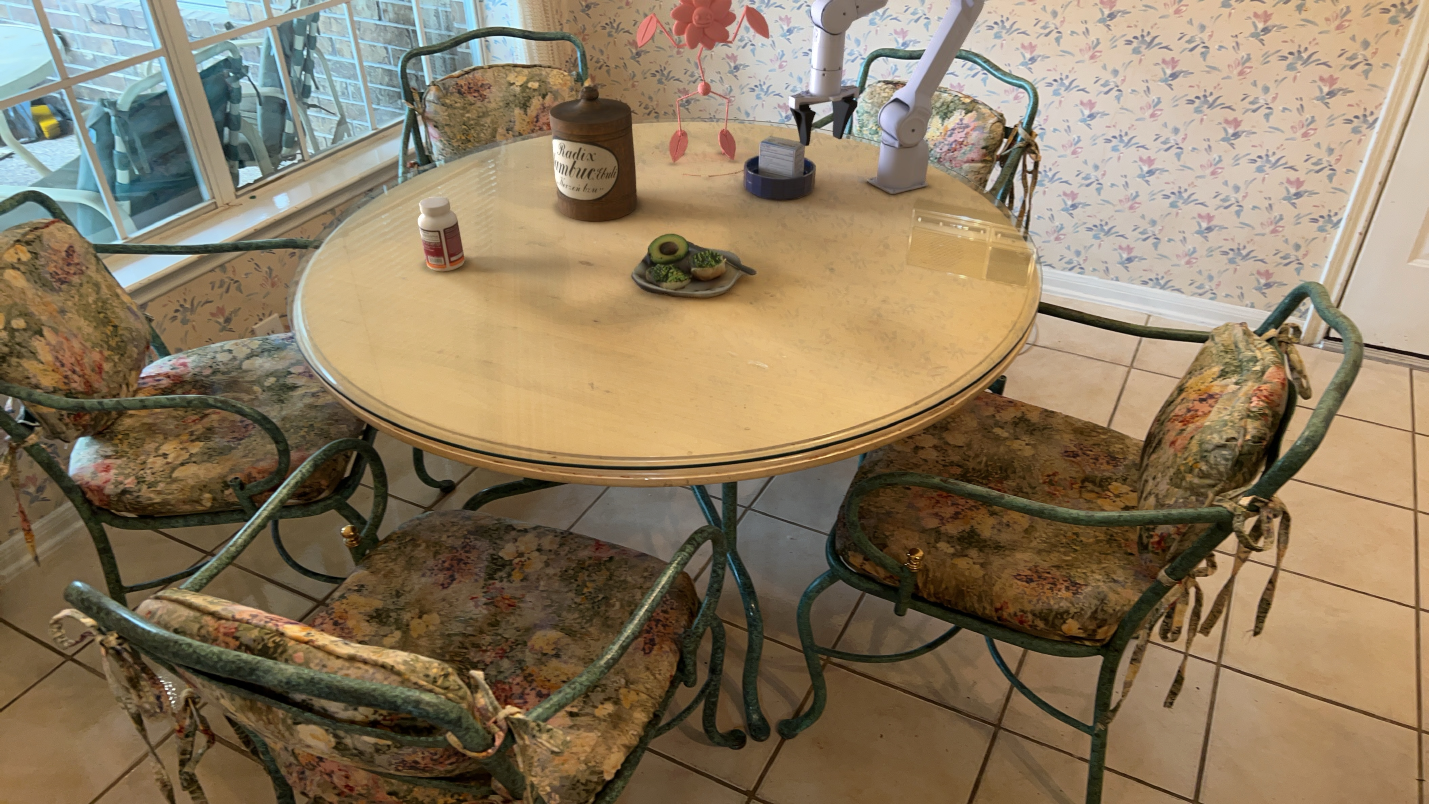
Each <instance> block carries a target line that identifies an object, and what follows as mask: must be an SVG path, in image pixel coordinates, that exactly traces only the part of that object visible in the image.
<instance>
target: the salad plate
mask: <svg viewBox="0 0 1429 804" xmlns="http://www.w3.org/2000/svg"><path fill="white" fill-rule="evenodd" d="M757 273H758V272H757V270H755V269H754V268H751V267H749V266H746V265H745V264H743V261H742V259H741V258H740V257H739V256H738V255H737V254H735V253H734V252H732V251H730V250H725V249H717V248H708V247H703V246H700V245H698V244H695V243H694V242H692V241H689V240H687V239H686V238H685V237H683V235H680V234H676V233H665V234H661V235H659V236H658V237H656V238H654V239H653V240H652V241H651V242H650V244H649V245H648V246H647V252H646V253H645V255H644V257H643V258H642V259H641V260H640V262H639V263H638V264H637V266H635V267H634V269H633V271H632V272H631V275H630V276H631V279H632V281H633V282H634V283H635V284H636V285H637V286H638V287H639V288H640V289H641V290H643V291H645V292H649V293H651V294H655V295H661V296H662V295H665V296H669V297H673V298H674V297H675V298H698V299H709V298H714V297H717V296H721V295H724V294H726V293H728V292H729V291H730V290H731V289H732V287H733V286H734V285H735V284H736V281H738V279H740V278H741V277H742V276H755V275H757Z"/></svg>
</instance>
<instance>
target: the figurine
mask: <svg viewBox="0 0 1429 804" xmlns="http://www.w3.org/2000/svg"><path fill="white" fill-rule="evenodd" d="M678 1H679V3H680V4H679V5H677V6H675V7H674V8H673V9H672V10H671V12H670V14H669V15H670V18H671V19H673V20H674V21H675V22H674V25H673V27H672V34H673V36H675V37H681V36H684V39H685V40H684V41H685V42H684V43H681V44H678V43H676V41H675V39H673V37H672V36H671V34H670V33H669V31H667V29H666V27H665V26H663V24H662V22H661V21H660V20H659V19H658V17H657V16H656V13H655V12H652V13H651V14H650V15H647V16H646V17H645V18H644V19H643V20H642V22H640V24H639V26H638V28H637V31H636V43H637V46H638V48H639V49H642V48H643V47H644V46H645V45H646V44H647V43H649V42H650V41H651V40H652V38H653V37H654V35H655V34H656V32H657V31H656V30H657V28H658V26H659V27H660V29H661V30H662V31H663V33H664V34H665V36H666V37H668V39H669V40H670V42H671V43H672V44H673V46H674V47H676V49H680V48H683V47H686V48H688V50H695V49H697V48H698V46H699V44H700V45H701V46H700V48H699V50H698V52H697V53H698V54H697V56H696V60H697V64H698V67H699V71H700V76H701V79H702V82H700V83H699V84H698V86H697V90H696V91H694V92H692V93H689V94H687V95H685V96H683V97H680V98H677V99H676V109H677V110H676V111H677V119H678V129H677V130H675V131H674V133H673V134H672V135H671V138H670V140H669V143H668V144H669V145H668V146H669V147H668V151H669V155H670V158H671V160H672V163H676V162H677V161H678V160H679V159H680V158H682V157H683V156H684V154H685V152H686V151H687V149H688V145H689V138H688V136H689V135H688V132H687V131H686V130H685V129H682V124H681V115H680V103H679V101H681V100H684V99H686V98H689V97H692V96H694V95H696V94H699V95H700V96H703V97H706V96H709V95H710V93H711V94H713V95H716V96H718V97H720V98H722V99H725V100H726V111H725V121H724V128H721V129H720V130H719V132H718V144H719V147H720V149H721V155H724V154H725V155H726V156H727V158H729V159H730V160H732V161H734V159H735V157H736V150H737V145H736V140H735V138H734V135H733V134H732V133H731V132H730V130H729V129H727V128H728V117H729V105H730V99H729V98H728V97H727V96H724V95H722V94H721V93H720V94H719V93H717V92H716V91H713V90H712V86H711V84H710V83H709V82H707V81H706V79H705V74H704V70H703V66H702V62H701V55H702V52H703V49H705V50H708V51H712V50H713V49H714V48H715V46H716V45H717V43H718V44H729V45H730V44H731V45H734V42H735V41H736V37H737V35H738V33H739V31H740V28H741V26H742V23H743V21H744V19H746V22H747V24H748V25H749V27H750V28H751V29H752V30H753V32H754V33H756V34H758V35H759V36H761V37H763V38H764V39H767V40H769V39H770V29H769V24H768V22H767V20H766V18H765V16H764V15H763V14H762V13H761V12H760V11H759V10H758V9H756V8H755V7H753V6H750V5H748V4H746V5H744V8H743V9H744V10H743V11H742V14H741V16H740V19H739V22H738V24H737V26H736V28H735V31H734V33H733V36H732V38H731V40H729V39H730V31H729V30H728V29H727V28H728V27H730V26H732V25H733V24H734V23H735V22H736V20H737V14H736V13H735V12H733V11H731V10H730V9H731V8H732V3H733V2H732V1H733V0H678ZM651 154H652V155H653V154H654V152H652V153H651ZM741 172H744V169H742V170H738V171H735V172H731V173H725V174H723V176H727V175H732V174H734V175H737V174H739V173H741ZM682 175H683V176H691V177H700V175H697V174H688V173H687V174H686V173H682ZM718 176H719V177H720V176H722V174H715V175H714V174H713V175H709V178H714V177H718Z"/></svg>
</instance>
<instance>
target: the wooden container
mask: <svg viewBox="0 0 1429 804" xmlns="http://www.w3.org/2000/svg"><path fill="white" fill-rule="evenodd" d="M599 96H600V92H599V90H598V89H597V88H594V87H593V86H584V87H583V88H582V89H581V90H579V92H578V97H579V99H571V100H567V101H562V102H561V103H560V102H559V103H557V104H556V105H554V106H552V107H551V108H550V110H549V112H548V113H549V115H548V116H549V126H550V131H551V140H552V141H551V142H552V151H553V152H552V153H553V168H554V179H555V188H556V197H557V198H556V199H557V206H558V210H559V212H560V213H561V214H563V215H564V216H566V217H568V218H570V219H575V220H578V221H585V222H603V221H605V222H606V221H611V220H616V219H620V218H622V217H625V216H627V215H629V214H631V213H632V212H633V211H635V210H636V209H637V206H638V195H637V194H638V192H637V171H636V157H635V146H634V145H635V144H634V134H633V114H632V109H631V106H630V105H629V104H628V103H625V102H623V101H621V100H617V99H612V98H606V97H605V98H604V97H599Z"/></svg>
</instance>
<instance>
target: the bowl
mask: <svg viewBox="0 0 1429 804" xmlns="http://www.w3.org/2000/svg"><path fill="white" fill-rule="evenodd" d="M743 170H744V171H743V178H742V179H743V181H742V182H743V183H742V185H743V187H744V189H745V190H746V191H748V192H749V193H750V194H752V195H754V196H757V197H759V198H762V199H766V200H772V201H773V200H774V201H788V200H795V199H799V198H803V197H805V196H806V195H808V194H811V193H812V192H813V191H814V190H815V186H816V173H817V165H816V164H815V163H814V161H813V160H811V159H809V158H807V157H804V173H803V176H800V177H796V178H784V179H783V178H770V177H764V176H760V175H759V154H758V155H754V156H752V157H749V158H748V159H747V160H746V161H744V163H743Z"/></svg>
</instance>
